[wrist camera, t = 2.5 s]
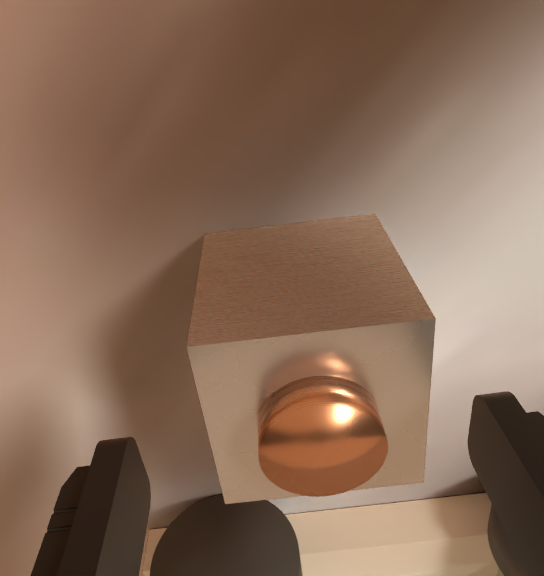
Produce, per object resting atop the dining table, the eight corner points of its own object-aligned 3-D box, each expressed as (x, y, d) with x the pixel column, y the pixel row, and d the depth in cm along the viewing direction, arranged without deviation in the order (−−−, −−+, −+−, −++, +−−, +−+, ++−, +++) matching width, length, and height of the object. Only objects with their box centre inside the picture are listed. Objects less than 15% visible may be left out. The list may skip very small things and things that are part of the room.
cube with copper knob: (374, 212, 16) (451, 346, 10) (375, 347, 19) (435, 515, 13) (205, 233, 16) (181, 377, 10) (230, 364, 19) (223, 537, 13)
